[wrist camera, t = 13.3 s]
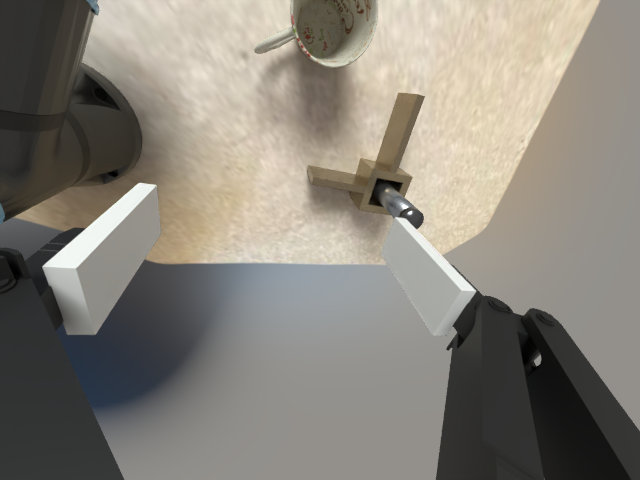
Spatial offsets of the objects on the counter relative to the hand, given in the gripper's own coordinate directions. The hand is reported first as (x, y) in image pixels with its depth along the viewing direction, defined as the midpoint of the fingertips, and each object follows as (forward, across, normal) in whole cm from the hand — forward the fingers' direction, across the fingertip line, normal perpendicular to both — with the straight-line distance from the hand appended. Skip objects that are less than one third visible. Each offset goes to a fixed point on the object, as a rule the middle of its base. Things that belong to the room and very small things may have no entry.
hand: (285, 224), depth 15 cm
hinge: (+28, +13, +1) cm, 31 cm away
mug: (+28, +2, +12) cm, 31 cm away
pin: (+27, +17, -4) cm, 33 cm away
